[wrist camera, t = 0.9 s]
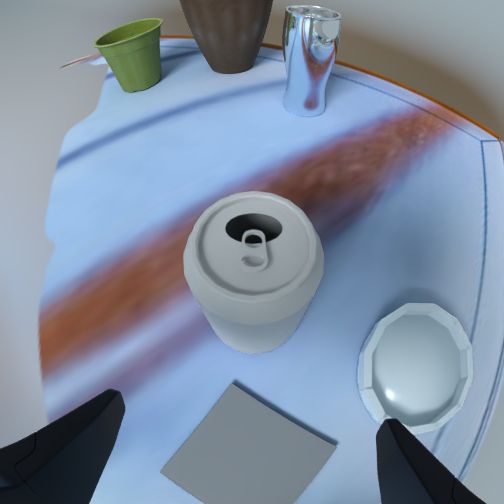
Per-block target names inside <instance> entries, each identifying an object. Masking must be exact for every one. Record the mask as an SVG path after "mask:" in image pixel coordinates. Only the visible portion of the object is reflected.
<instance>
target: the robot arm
mask: <svg viewBox="0 0 504 504" xmlns="http://www.w3.org/2000/svg"><path fill="white" fill-rule="evenodd" d="M124 413H125V404H124V401H123V398H122V394H121V392H120V391H117V390H114V389H108V390H106V391H104V392H103V393H101V394H99V395H98V396H96V397H94V398H93V399H91V400H89V401H88V402H86V403H84V404H83V405H81V406H79V407H78V408H76V409H74V410H73V411H71V412H69V413H68V414H66V415H64V416H63V417H61V418H59V419H57V420H56V421H54V422H52V423H50V424H49V425H47V426H45V427H44V428H42V429H40V430H38V431H37V432H35V433H33V434H31V435H29V436H28V437H26V438H23V439H22V440H20V441H18V442H15V443H13V444H11V445H8V446H6V447H3V448H1V449H0V504H89V503H90V501H91V498H92V496H93V493H94V491H95V489H96V486H97V484H98V482H99V479H100V477H101V475H102V472H103V470H104V468H105V466H106V463H107V461H108V459H109V456H110V454H111V452H112V450H113V447H114V445H115V442H116V439H117V435H118V432H119V429H120V426H121V423H122V419H123V416H124ZM376 447H377V471H378V480H379V487H380V494H381V502H382V504H486V503H485V502H483V501H482V500H481V499H479V498H478V497H477V496H476V495H474V494H473V493H472V492H471V491H470V490H468V489H467V488H466V487H465V486H464V485H463V484H462V483H461V482H460V481H459V480H458V479H457V478H455V476H454V475H453V474H452V473H451V472H450V471H449V470H448V469H447V468H446V467H445V466H444V465H443V464H442V463H441V462H440V461H439V460H438V459H437V458H436V457H435V456H434V455H433V454H432V453H431V452H430V451H429V450H428V449H427V448H426V447H425V446H424V445H423V444H422V443H421V442H420V441H419V440H418V439H417V438H416V437H415V436H414V435H413V434H412V433H411V432H410V431H409V430H408V429H407V428H406V427H405V426H404V425H403V424H402V423H401V422H400V421H399V420H398V419H396V418H387V419H385V420H384V421H383V423H382V425H381V426H380V428H379V430H378V432H377V434H376Z"/></svg>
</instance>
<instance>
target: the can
mask: <svg viewBox="0 0 504 504" xmlns="http://www.w3.org/2000/svg"><path fill="white" fill-rule="evenodd" d="M324 256H325V255H324V252H323V248H322V245H321V241H320V238H319V236H318V234H317V233H316V231H315V230H314V227H313V224H312V223H311V221H310V220H309V219H308V217H307V216H306V214H305V213H304V211H303V210H301V209H300V208H299V207H298V206H296V205H295V204H294V203H292V202H291V201H290V200H288V199H285V198H283V197H281V196H278V195H276V194H273V193H267V192H259V191H249V192H241V193H235V194H233V195H230V196H227V197H225V198H222V199H220V200H218V201H217V202H216V203H214V204H213V205H212V206H210V207H209V208H208V209H206V210H205V211H204V213H203V214H202V215H201V217H200V218H199V219H198V221H197V222H196V224H195V225H194V229H193V231H192V233H191V234H190V236H189V239H188V242H187V245H186V248H185V251H184V275H185V277H186V280H187V282H188V284H189V287H190V289H191V291H192V294H193V295H194V297H195V299H196V301H197V302H198V304H199V306H200V308H201V309H202V311H203V313H204V314H205V316H206V318H207V320H208V321H209V323H210V325H211V326H212V328H213V330H214V331H215V333H216V334H217V335H218V337H219V338H220V339H221V340H222V341H223V342H224V343H225V344H226V345H228V346H230V347H232V348H234V349H235V350H237V351H239V352H245V353H251V354H259V353H265V352H270V351H272V350H274V349H276V348H278V347H280V346H282V345H283V344H285V343H286V342H287V341H288V340H289V339H290V337H291V336H292V335H293V334H294V332H295V330H296V329H297V327H298V325H299V323H300V321H301V319H302V318H303V316H304V314H305V312H306V310H307V308H308V306H309V304H310V302H311V300H312V298H313V297H314V295H315V292H316V290H317V288H318V286H319V284H320V281H321V279H322V277H323V271H324Z"/></svg>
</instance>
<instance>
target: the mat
mask: <svg viewBox="0 0 504 504" xmlns="http://www.w3.org/2000/svg"><path fill="white" fill-rule="evenodd" d="M336 448H337V447H336V446H334V445H332V444H330V443H328V442H327V441H325V440H323V439H321V438H319V437H317V436H316V435H314V434H312V433H310V432H308V431H307V430H305V429H303V428H301V427H300V426H298V425H296V424H295V423H293V422H291V421H290V420H288V419H286V418H285V417H283V416H281V415H280V414H278V413H276V412H275V411H273V410H272V409H270V408H268V407H267V406H265V405H264V404H262V403H261V402H259V401H258V400H256V399H254V398H253V397H251V396H250V395H248V394H247V393H245V392H244V391H243V390H241V389H240V388H238V387H237V386H235V385H234V384H231V385H230V386H229V387H228V389H227V390H226V391H225V393H224V394H223V395H222V397H221V398H220V399H219V400H218V402H217V403H216V404H215V406H214V407H213V408H212V409H211V411H210V412H209V413H208V414H207V416H206V417H205V418H204V419H203V421H202V422H201V423H200V424H199V426H198V427H197V428H196V429H195V431H194V432H193V433H192V434H191V435H190V437H189V438H188V439H187V440H186V442H185V443H184V444H183V445H182V446H181V448H180V449H179V450H178V451H177V452H176V453H175V455H174V456H173V457H172V458H171V459H170V461H169V462H168V463H167V464H166V465H165V466H164V467H163V469H162V470H161V471H160V473H162V474H163V475H164V476H166V477H167V478H168V479H170V480H171V481H172V482H174V483H175V484H176V485H178V486H179V487H181V488H182V489H183V490H185V491H186V492H188V493H189V494H191V495H192V496H194V497H195V498H197V499H198V500H200V501H201V502H203V503H204V504H293V503H294V502H295V501H296V500H297V499H298V497H299V496H300V495H301V494H302V493H303V491H304V490H305V489H306V488H307V487H308V485H309V484H310V483H311V482H312V480H313V479H314V478H315V477H316V475H317V474H318V473H319V471H320V470H321V469H322V467H323V466H324V465H325V463H326V462H327V461H328V459H329V458H330V457H331V455H332V454H333V452H334V451H335V449H336Z"/></svg>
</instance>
